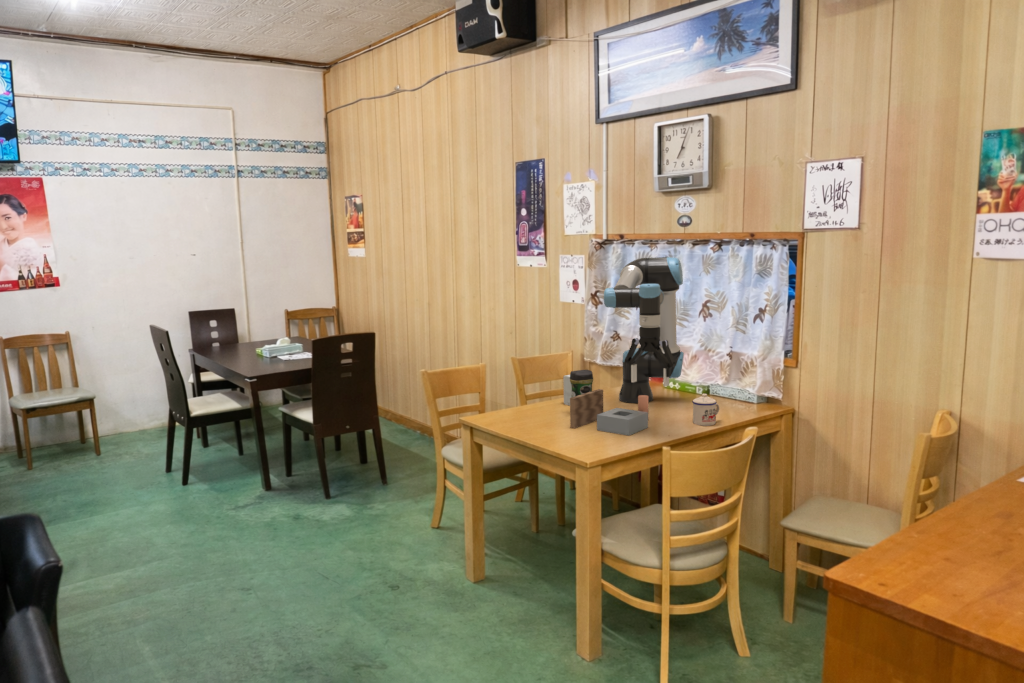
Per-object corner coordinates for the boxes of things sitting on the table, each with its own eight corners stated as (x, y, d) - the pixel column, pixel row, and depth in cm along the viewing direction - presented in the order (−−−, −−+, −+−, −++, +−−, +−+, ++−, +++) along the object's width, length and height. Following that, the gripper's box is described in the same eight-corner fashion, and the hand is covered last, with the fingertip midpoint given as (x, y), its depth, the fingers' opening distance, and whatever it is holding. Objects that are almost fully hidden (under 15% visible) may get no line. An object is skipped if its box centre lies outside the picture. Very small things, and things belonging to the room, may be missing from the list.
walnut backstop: (599, 417, 294) (599, 389, 292) (603, 418, 292) (603, 389, 291) (570, 428, 279) (569, 398, 277) (574, 429, 277) (574, 398, 276)
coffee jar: (588, 410, 307) (587, 367, 304) (596, 414, 300) (596, 370, 297) (567, 412, 304) (566, 369, 301) (575, 417, 296) (574, 372, 294)
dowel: (641, 418, 290) (641, 394, 289) (650, 420, 287) (650, 395, 286) (636, 421, 287) (636, 396, 286) (645, 422, 284) (645, 397, 283)
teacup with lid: (703, 427, 274) (703, 397, 273) (687, 422, 282) (687, 393, 281) (727, 423, 280) (727, 393, 278) (710, 418, 288) (710, 389, 286)
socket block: (616, 422, 285) (616, 407, 284) (647, 427, 276) (647, 412, 275) (597, 430, 274) (596, 414, 273) (628, 435, 265) (628, 419, 264)
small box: (572, 406, 315) (571, 377, 313) (563, 404, 320) (562, 375, 319) (586, 403, 319) (586, 375, 318) (577, 401, 325) (577, 373, 323)
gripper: (615, 325, 267) (615, 381, 270) (675, 329, 251) (675, 389, 253) (626, 323, 272) (626, 378, 275) (685, 327, 256) (685, 385, 259)
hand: (649, 383), depth 264 cm, fingers open, 13 cm apart
